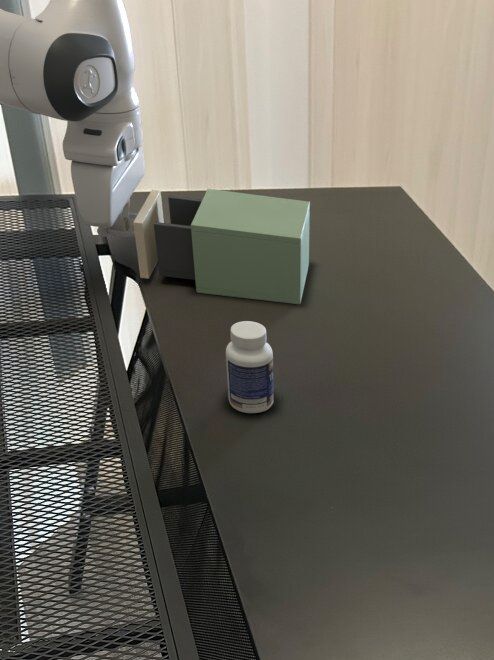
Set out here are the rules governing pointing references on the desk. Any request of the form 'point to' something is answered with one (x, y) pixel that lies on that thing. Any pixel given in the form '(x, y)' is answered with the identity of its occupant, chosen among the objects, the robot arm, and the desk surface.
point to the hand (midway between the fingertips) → (121, 232)
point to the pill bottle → (249, 368)
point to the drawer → (163, 236)
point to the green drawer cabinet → (251, 246)
